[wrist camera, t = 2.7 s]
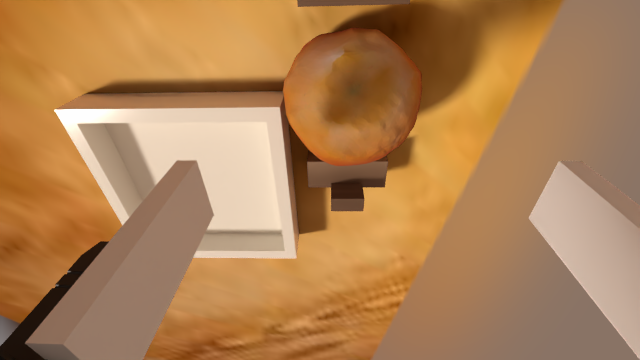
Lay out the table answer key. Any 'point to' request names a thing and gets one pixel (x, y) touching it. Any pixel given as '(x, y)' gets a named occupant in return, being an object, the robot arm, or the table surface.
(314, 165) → the block
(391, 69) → the fruit
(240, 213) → the dish
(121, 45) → the table surface
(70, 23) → the table surface
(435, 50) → the table surface
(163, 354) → the table surface
